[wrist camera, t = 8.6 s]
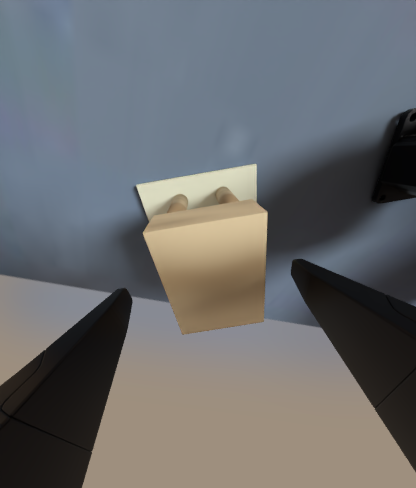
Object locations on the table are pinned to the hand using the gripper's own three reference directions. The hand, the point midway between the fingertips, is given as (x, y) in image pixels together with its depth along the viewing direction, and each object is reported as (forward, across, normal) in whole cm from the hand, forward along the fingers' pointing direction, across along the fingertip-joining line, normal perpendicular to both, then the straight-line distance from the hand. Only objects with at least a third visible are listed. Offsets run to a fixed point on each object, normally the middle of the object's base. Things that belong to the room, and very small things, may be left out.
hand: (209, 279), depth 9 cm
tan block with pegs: (+6, 0, 0) cm, 6 cm away
